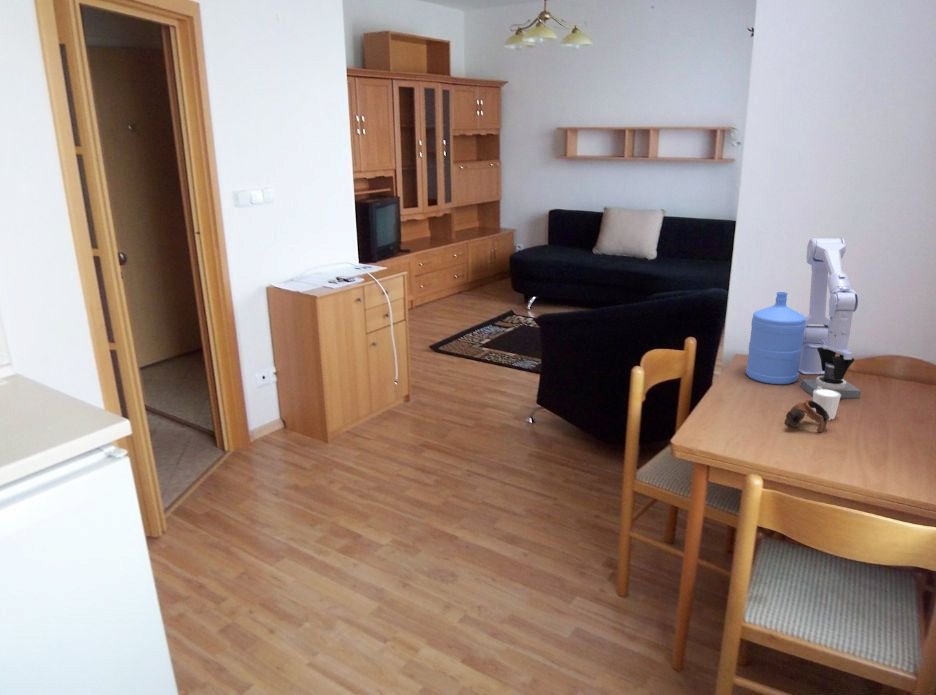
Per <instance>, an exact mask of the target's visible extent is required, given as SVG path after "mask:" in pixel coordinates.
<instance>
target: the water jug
mask: <svg viewBox="0 0 936 695" xmlns="http://www.w3.org/2000/svg"><path fill="white" fill-rule="evenodd" d="M775 294H776V298H775V304H774V305H771V306H768V307H765V308H762V309H759V310H756V311H754V312H753V315H752V319H751V330H750V339H749V343H748V356H747V365H746V368H745V373H746V375H747V376H748V377H749V378H750V379H752V380H754V381H757V382H760V383H763V384H770V385H789V384H790V385H791V384H793V383H795V382H796V381H798V379H799V375H800V371H799V364H800V357H801V352H802V342H803V336H804V331H805V325H806V323H805V321H806V316H805V315H804V314H802V313H801V312H798V311H796V310H794V309H792V308H791V307H789V306H788V305H787V301H788V299H787V297H788V293H787V292H783V291H782V292H781V291H777V292H776V293H775Z"/></svg>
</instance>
